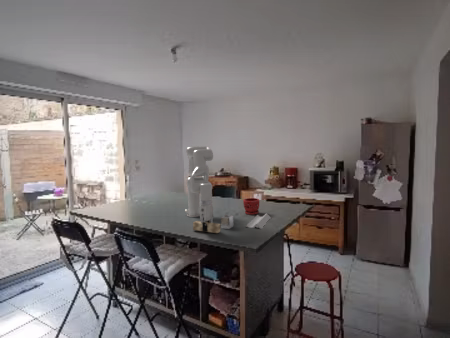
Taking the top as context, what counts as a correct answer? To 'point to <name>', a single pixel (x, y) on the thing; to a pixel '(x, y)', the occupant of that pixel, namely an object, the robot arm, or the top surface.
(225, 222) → the cup brackets
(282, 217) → the top surface
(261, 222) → the crown molding
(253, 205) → the plant pot
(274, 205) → the top surface
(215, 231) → the beige wooden bar
